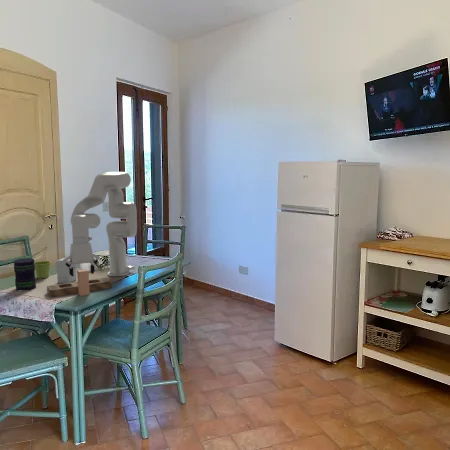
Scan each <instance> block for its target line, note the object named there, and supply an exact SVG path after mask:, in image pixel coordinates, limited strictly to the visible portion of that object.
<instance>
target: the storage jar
mask: <svg viewBox="0 0 450 450" xmlns="http://www.w3.org/2000/svg"><path fill="white" fill-rule="evenodd" d="M34 263H35V259H34V258H30V257H28V258H27V257H26V258H19V259H15V260H14V261H13V270H14V271H13V272H14V274H15V275H14V277H15V278H14V281H15V283H14V284H15V290H16V291H17V290H28V291H32V290H35V289H36V288H37V284H36V283H37V279H36V274H35V273H36V270H35V264H34ZM31 289H32V290H31Z"/></svg>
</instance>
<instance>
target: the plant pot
mask: <svg viewBox="0 0 450 450" xmlns="http://www.w3.org/2000/svg"><path fill="white" fill-rule="evenodd" d="M51 263H52V262H51V261H49V260H41V261H36V262H35V261H34V264H35V273H36V274H35V276H36V277H37V279H48V278H49V277H50V267H51V266H50V265H51Z"/></svg>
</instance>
